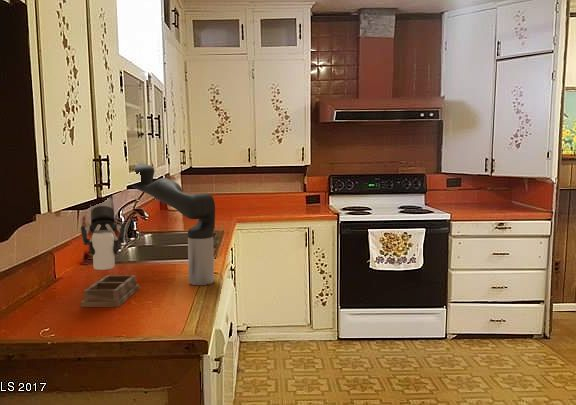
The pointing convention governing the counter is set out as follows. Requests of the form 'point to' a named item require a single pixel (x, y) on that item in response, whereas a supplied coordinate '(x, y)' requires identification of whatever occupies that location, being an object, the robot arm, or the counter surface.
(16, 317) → the counter surface
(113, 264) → the can
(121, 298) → the tray
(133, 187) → the robot arm
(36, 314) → the counter surface
